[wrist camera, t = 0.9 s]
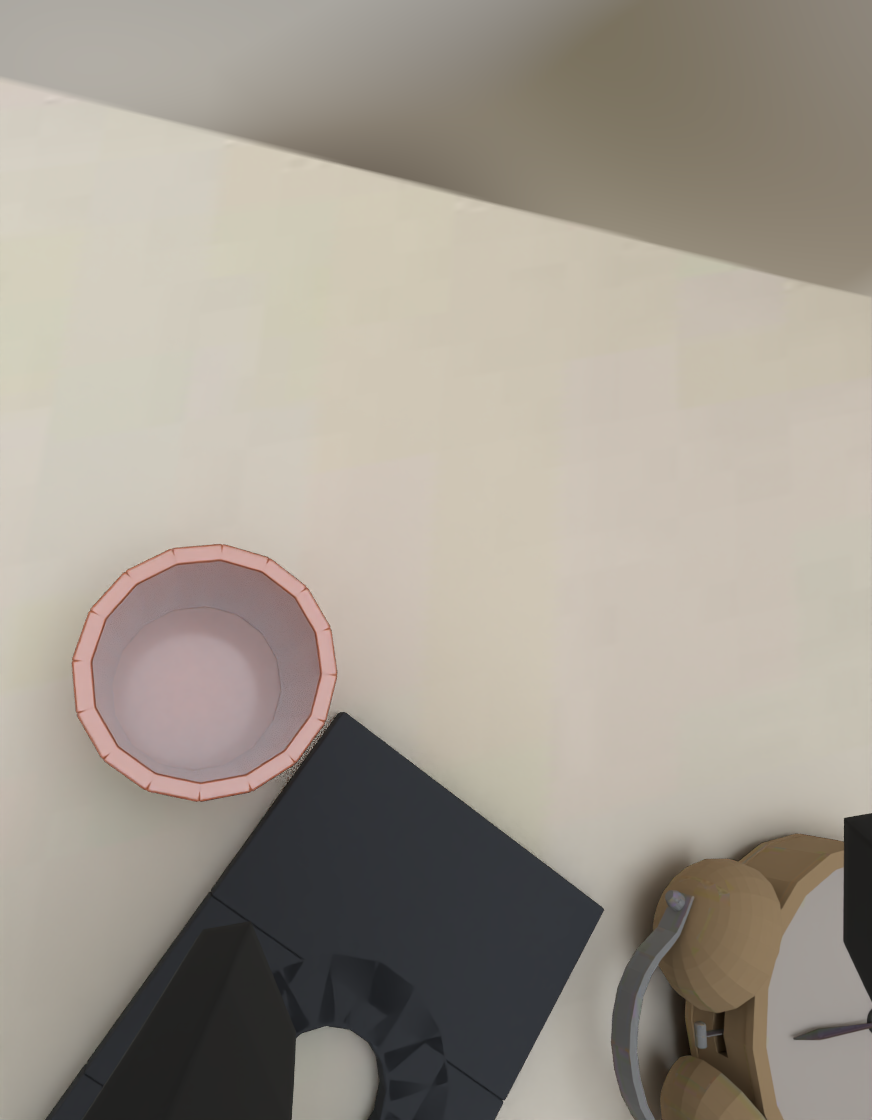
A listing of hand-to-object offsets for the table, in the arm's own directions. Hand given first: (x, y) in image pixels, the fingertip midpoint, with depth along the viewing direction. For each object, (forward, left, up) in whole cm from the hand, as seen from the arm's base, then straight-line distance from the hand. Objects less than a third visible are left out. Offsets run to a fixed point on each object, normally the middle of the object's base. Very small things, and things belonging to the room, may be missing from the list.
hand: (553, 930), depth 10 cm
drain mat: (-5, -4, -16) cm, 18 cm away
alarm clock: (+4, -17, -17) cm, 24 cm away
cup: (+1, +5, -16) cm, 17 cm away
